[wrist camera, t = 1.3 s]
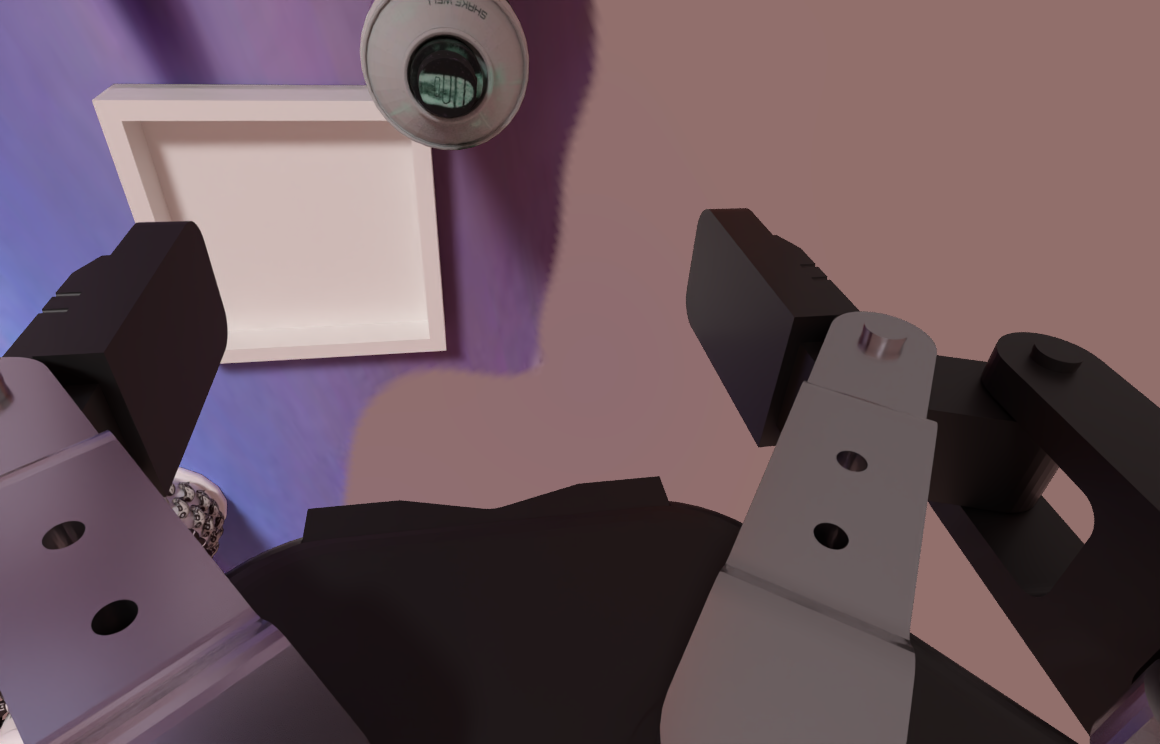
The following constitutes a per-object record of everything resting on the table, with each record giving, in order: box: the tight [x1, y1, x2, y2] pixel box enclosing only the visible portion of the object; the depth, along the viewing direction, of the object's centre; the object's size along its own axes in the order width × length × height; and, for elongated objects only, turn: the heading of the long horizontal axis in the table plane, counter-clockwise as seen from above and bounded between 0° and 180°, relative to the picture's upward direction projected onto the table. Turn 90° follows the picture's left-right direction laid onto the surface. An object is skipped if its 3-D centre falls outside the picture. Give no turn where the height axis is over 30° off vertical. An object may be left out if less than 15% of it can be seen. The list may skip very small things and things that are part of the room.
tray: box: [92, 84, 446, 364], centre depth 41 cm, size 16×16×3 cm
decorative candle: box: [0, 467, 227, 744], centre depth 44 cm, size 9×9×25 cm
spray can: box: [360, 0, 529, 150], centre depth 28 cm, size 6×6×20 cm
